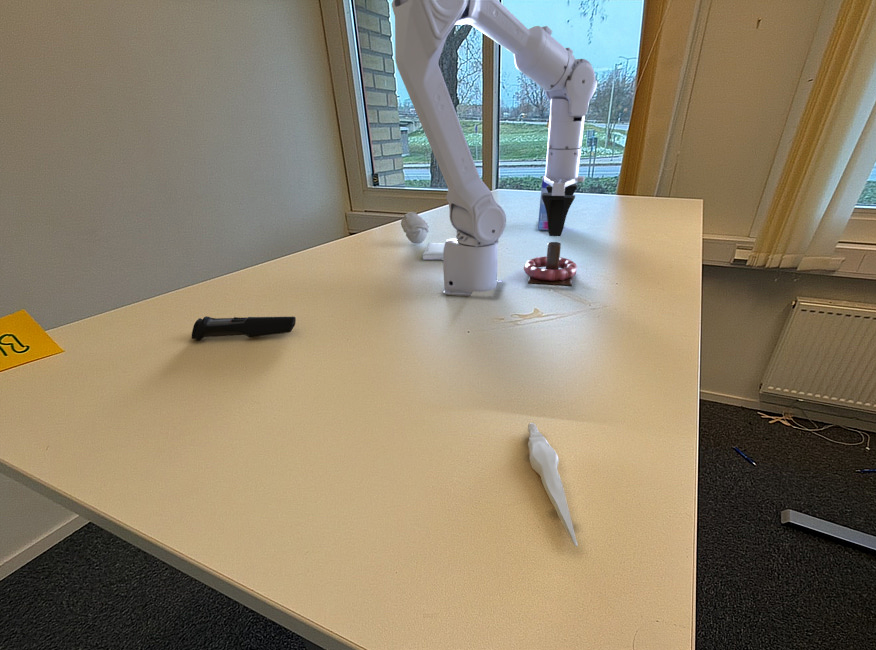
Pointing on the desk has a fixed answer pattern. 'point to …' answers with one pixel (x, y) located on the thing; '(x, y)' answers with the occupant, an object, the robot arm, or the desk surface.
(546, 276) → the ring
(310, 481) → the desk surface
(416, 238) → the white lumpy rounded piece
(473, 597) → the desk surface
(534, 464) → the grey tapered spike
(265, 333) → the electric trimmer
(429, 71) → the robot arm
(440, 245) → the hard drive
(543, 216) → the ink cartridge box
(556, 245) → the stand
